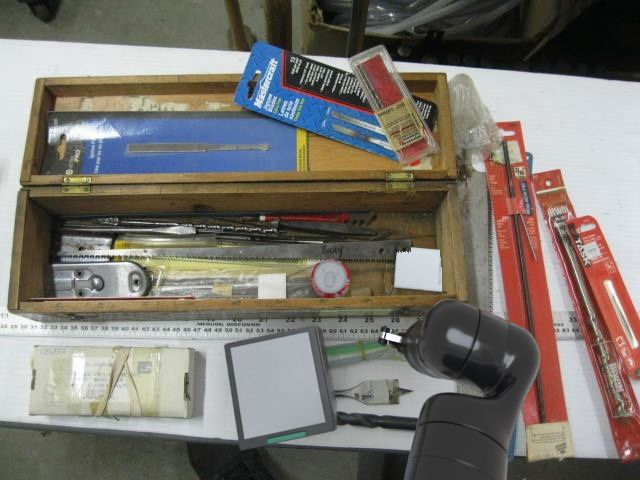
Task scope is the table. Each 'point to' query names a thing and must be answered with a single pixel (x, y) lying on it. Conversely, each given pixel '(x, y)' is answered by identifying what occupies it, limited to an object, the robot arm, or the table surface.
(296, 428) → the scale
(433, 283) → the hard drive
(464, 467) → the robot arm
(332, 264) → the soda can
